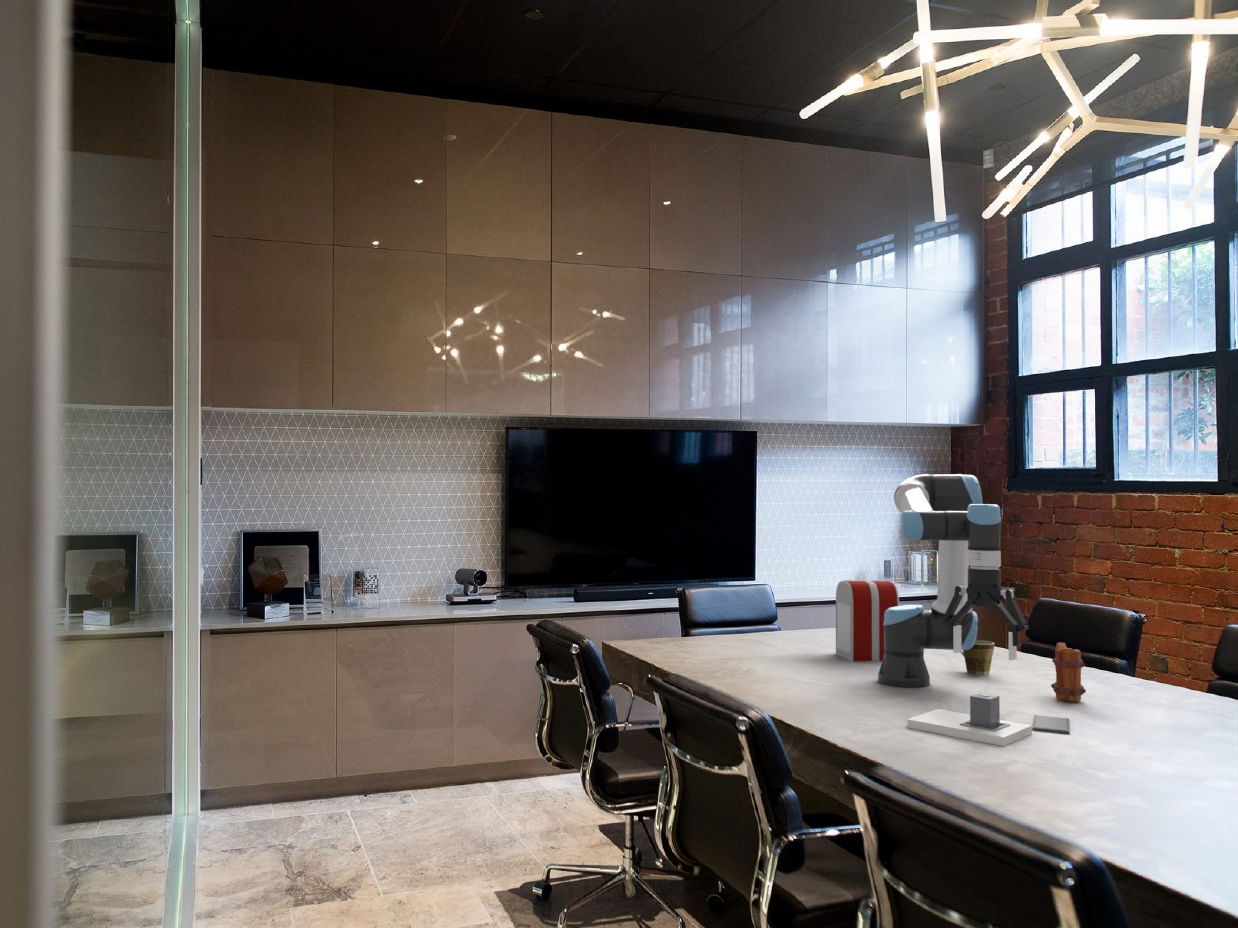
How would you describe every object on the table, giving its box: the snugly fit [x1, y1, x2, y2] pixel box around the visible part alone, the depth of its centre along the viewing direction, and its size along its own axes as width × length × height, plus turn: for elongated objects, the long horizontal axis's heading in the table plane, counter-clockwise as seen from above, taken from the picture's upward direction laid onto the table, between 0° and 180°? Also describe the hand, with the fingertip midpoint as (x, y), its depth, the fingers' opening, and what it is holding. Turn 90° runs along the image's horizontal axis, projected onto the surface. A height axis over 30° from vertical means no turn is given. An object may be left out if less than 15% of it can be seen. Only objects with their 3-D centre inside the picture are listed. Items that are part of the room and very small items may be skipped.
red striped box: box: [835, 579, 900, 663], centre depth 334 cm, size 16×18×27 cm
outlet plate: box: [906, 708, 1033, 747], centre depth 231 cm, size 24×16×2 cm, turn 45°
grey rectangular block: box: [969, 692, 1001, 729], centre depth 229 cm, size 5×5×9 cm
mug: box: [1050, 642, 1087, 703], centre depth 269 cm, size 15×8×15 cm, turn 168°
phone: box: [1032, 714, 1070, 735], centre depth 237 cm, size 8×15×1 cm, turn 155°
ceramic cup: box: [960, 639, 995, 676], centre depth 306 cm, size 13×10×10 cm
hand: (984, 655), depth 229 cm, fingers open, 13 cm apart
